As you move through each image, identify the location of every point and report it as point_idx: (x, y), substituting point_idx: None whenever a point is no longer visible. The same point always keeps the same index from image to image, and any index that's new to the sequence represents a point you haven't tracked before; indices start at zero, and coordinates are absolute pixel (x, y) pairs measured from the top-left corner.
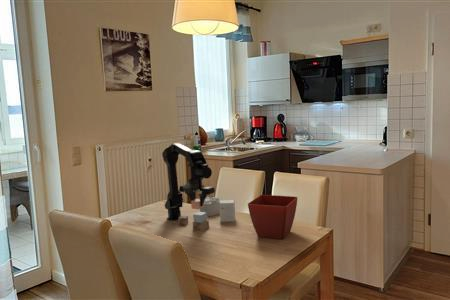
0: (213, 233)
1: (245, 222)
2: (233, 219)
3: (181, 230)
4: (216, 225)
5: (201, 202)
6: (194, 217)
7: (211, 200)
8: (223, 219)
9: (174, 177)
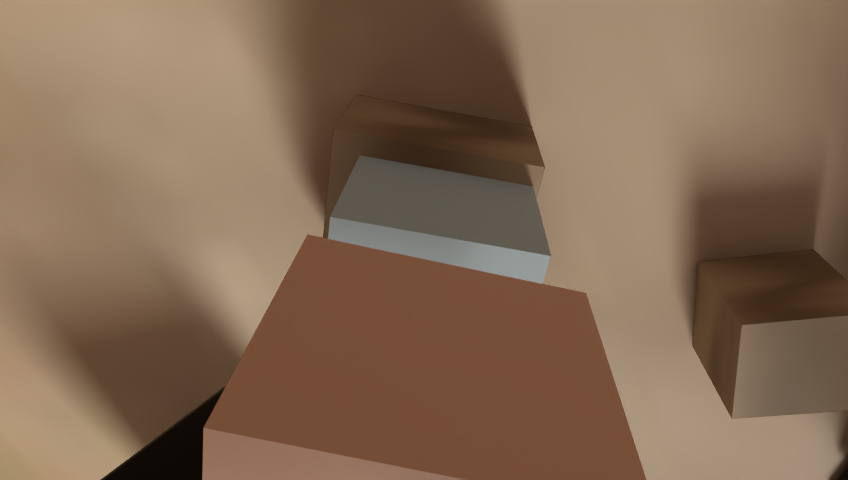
0: (137, 15)
1: (33, 440)
2: None
3: (707, 33)
4: None
5: (138, 451)
6: (512, 218)
7: None
8: None
9: None
